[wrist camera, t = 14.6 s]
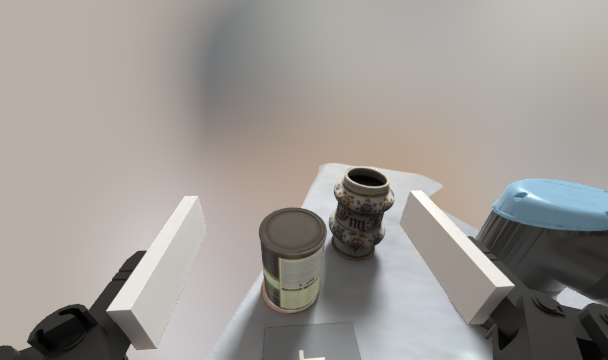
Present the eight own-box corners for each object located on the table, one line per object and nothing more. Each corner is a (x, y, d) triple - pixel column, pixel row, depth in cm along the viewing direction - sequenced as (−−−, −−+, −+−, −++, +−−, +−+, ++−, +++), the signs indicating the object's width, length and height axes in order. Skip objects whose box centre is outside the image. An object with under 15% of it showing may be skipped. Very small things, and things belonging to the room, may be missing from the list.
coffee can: (253, 300, 38) (244, 240, 31) (279, 255, 46) (278, 201, 39) (309, 323, 35) (314, 264, 28) (326, 272, 43) (334, 216, 36)
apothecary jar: (390, 249, 50) (413, 180, 41) (353, 274, 44) (370, 200, 35) (352, 219, 58) (363, 157, 49) (316, 237, 52) (322, 170, 43)
